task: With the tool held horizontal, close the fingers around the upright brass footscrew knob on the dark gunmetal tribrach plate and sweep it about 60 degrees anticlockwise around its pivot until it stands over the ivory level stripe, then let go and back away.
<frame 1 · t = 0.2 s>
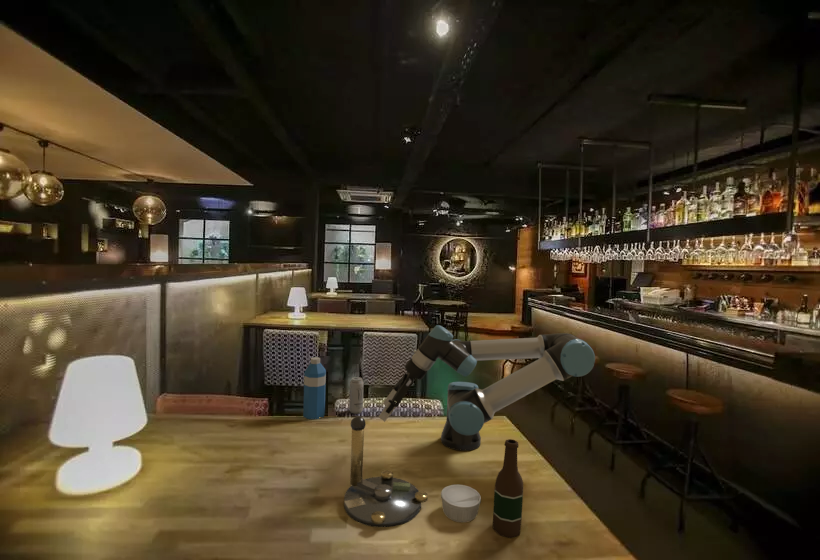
hand: (383, 412, 156), 15 cm above the table, tool tilted 35°, fingers open, 13 cm apart
tribrach plate: (382, 503, 126), on the table
energy drink can: (355, 412, 196), on the table
footscrew lever: (370, 455, 128), point 13 cm above the table, hinge at 0.0°
water bottle: (314, 415, 190), on the table
ramekin: (459, 513, 123), on the table
beer bottle: (506, 529, 117), on the table
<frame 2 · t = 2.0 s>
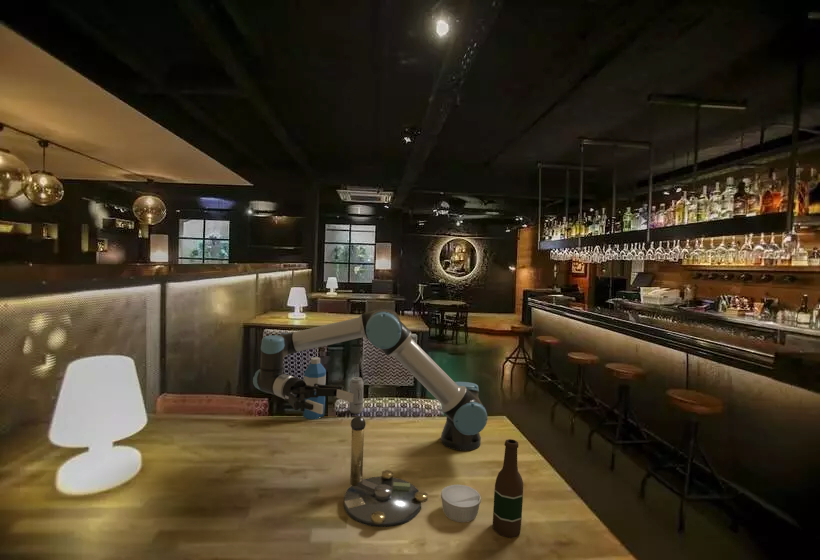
hand: (338, 403, 135), 25 cm above the table, tool horizontal, fingers open, 13 cm apart
nothing on the table moved.
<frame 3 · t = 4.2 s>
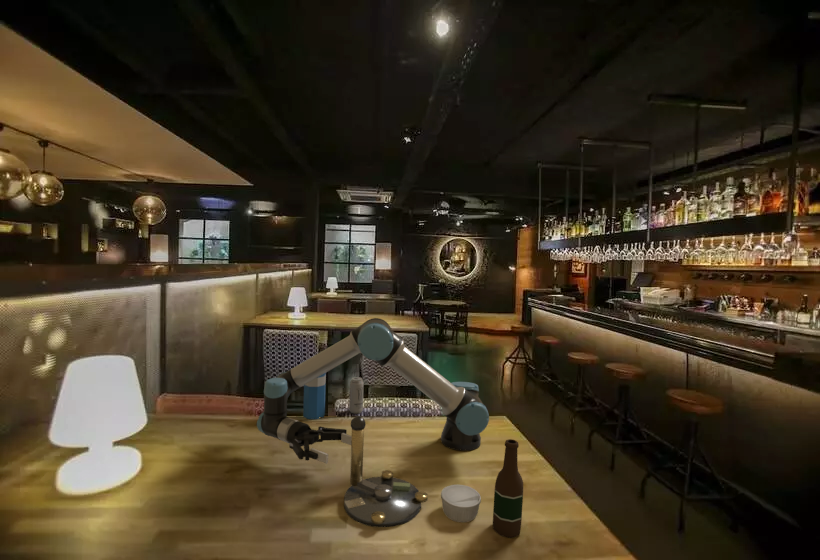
hand: (343, 450, 133), 11 cm above the table, tool horizontal, fingers open, 13 cm apart
nothing on the table moved.
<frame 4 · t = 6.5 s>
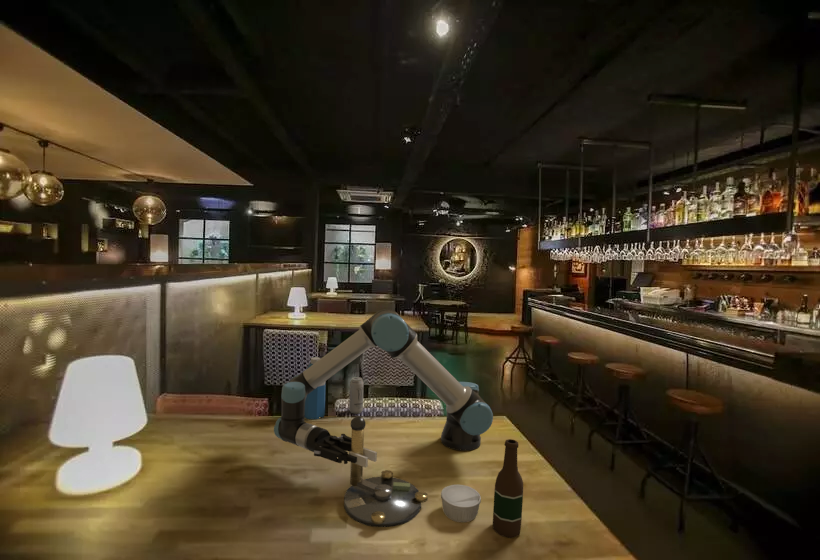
hand: (371, 459, 128), 12 cm above the table, tool horizontal, fingers closed on footscrew lever, 4 cm apart
footscrew lever: (370, 455, 128), point 13 cm above the table, hinge at 0.1°, touching gripper
everything else where it was.
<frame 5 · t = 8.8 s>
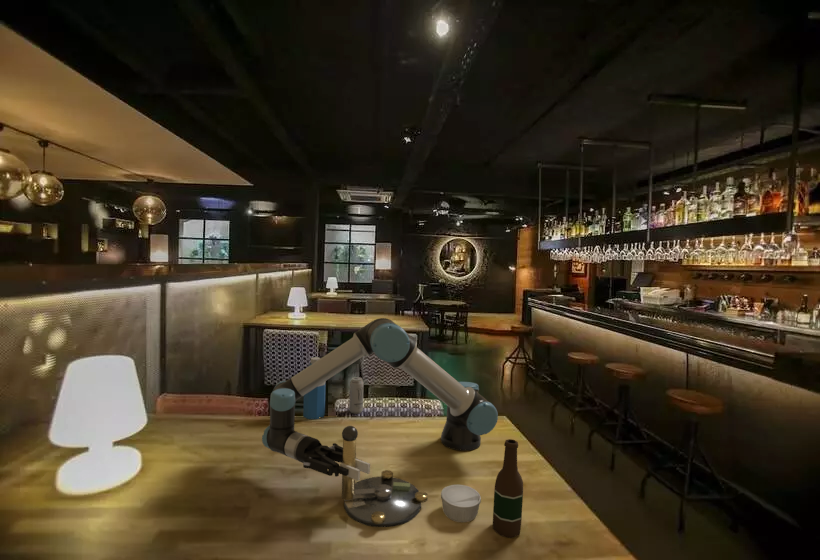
hand: (364, 471, 121), 12 cm above the table, tool horizontal, fingers closed on footscrew lever, 4 cm apart
footscrew lever: (367, 461, 124), point 13 cm above the table, hinge at 43.4°, touching gripper
everything else where it was.
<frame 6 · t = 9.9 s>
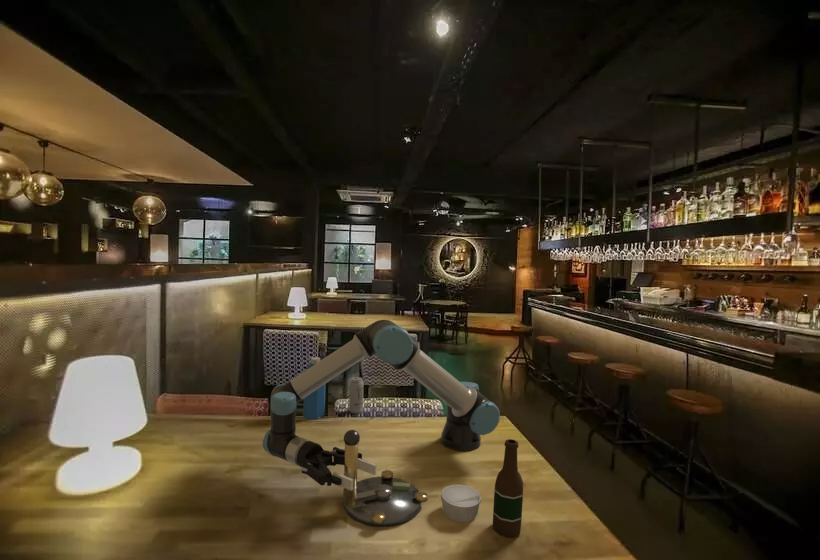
hand: (364, 477, 118), 12 cm above the table, tool horizontal, fingers open, 9 cm apart
footscrew lever: (368, 463, 123), point 13 cm above the table, hinge at 59.6°
everything else where it was.
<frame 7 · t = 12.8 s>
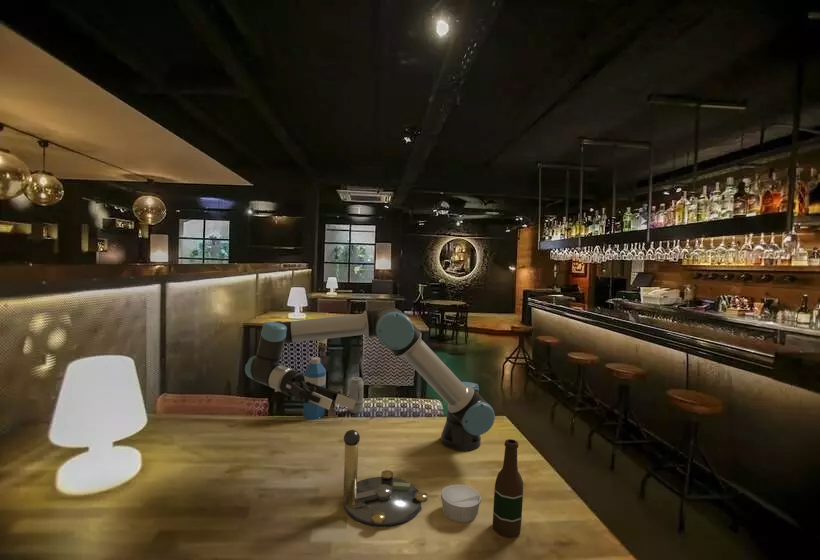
hand: (342, 405, 127), 27 cm above the table, tool horizontal, fingers open, 13 cm apart
nothing on the table moved.
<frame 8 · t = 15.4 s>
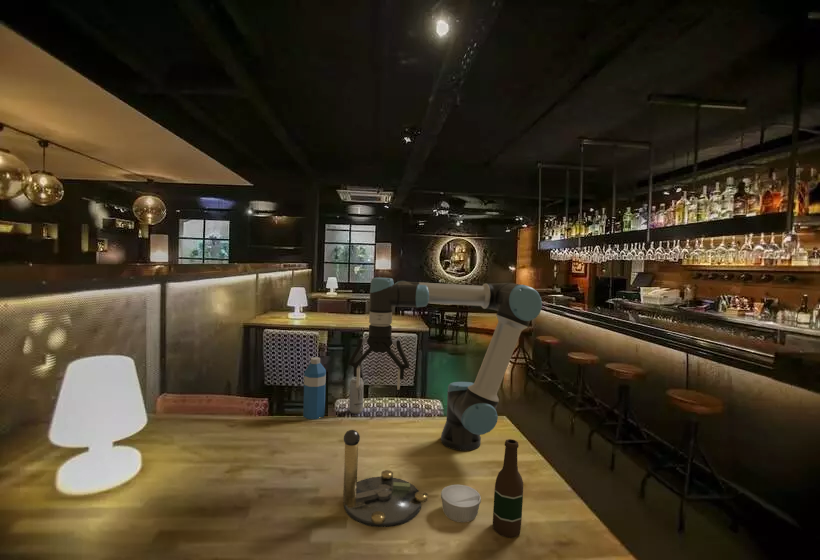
hand: (378, 387, 147), 27 cm above the table, tool pointing down, fingers open, 13 cm apart
nothing on the table moved.
at the end: footscrew lever at +60° (first picture: +0°); the gripper is holding nothing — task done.
